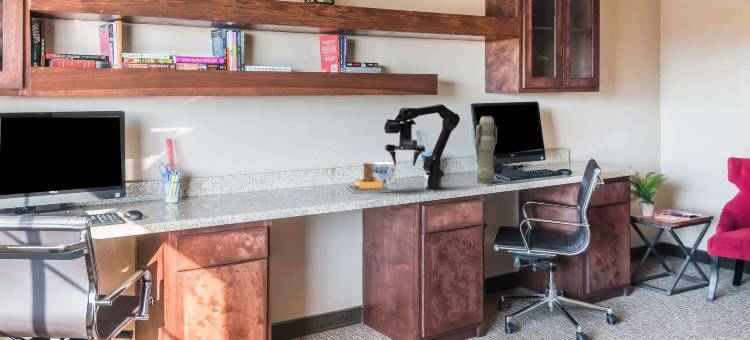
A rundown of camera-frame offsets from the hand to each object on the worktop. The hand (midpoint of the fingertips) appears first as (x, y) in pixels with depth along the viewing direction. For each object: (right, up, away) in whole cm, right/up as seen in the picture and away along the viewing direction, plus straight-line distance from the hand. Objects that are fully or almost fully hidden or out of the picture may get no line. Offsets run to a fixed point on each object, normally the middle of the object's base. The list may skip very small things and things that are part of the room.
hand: (404, 165), depth 341 cm
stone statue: (+44, -9, +31) cm, 55 cm away
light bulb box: (-10, -9, +27) cm, 30 cm away
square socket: (-18, -12, +1) cm, 21 cm away
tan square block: (-18, -11, +1) cm, 21 cm away
